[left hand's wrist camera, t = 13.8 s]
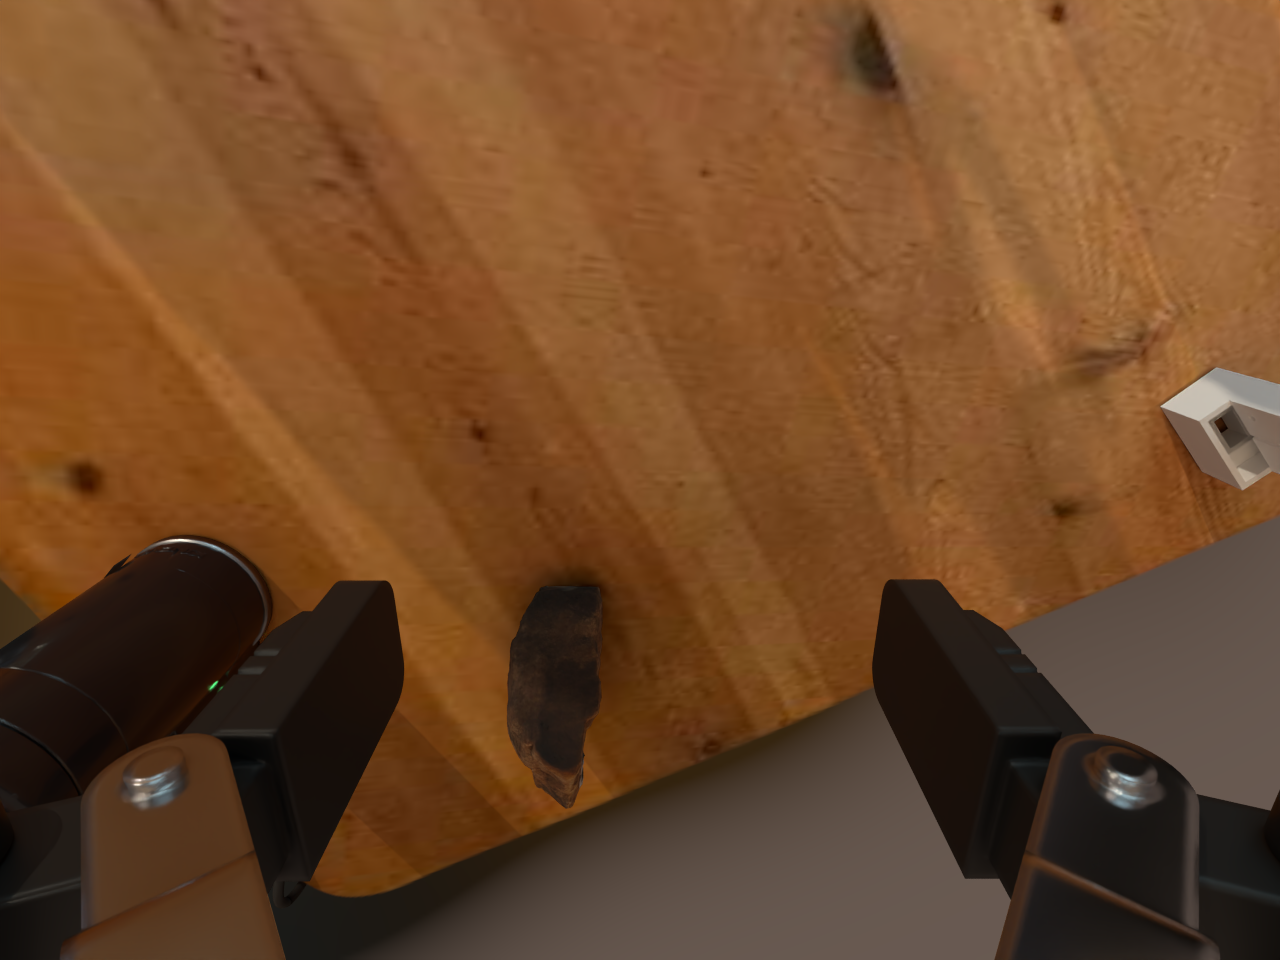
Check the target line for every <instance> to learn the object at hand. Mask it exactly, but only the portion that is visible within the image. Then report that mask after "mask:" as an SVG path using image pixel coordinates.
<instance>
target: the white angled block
mask: <svg viewBox="0 0 1280 960" xmlns="http://www.w3.org/2000/svg"><path fill="white" fill-rule="evenodd" d="M1160 407H1161V409H1162V410H1163V412H1164V413H1165V415H1166V416H1167V418H1168V419H1169V421H1170V423H1171V424H1172V426H1173V427H1174V429H1175V430H1176V432H1177V433H1178V435H1179V437H1180V438H1181V440H1182V441H1183V443H1184V444H1185V446H1186V447H1187V449H1188V451H1189V452H1190V454H1191V455H1192V457H1193V458H1194V460H1195V462H1196V463H1197V465H1198V466H1199V468H1200V469H1201V471H1202V472H1204V473H1206V474H1208V475H1210V476H1212V477H1215V478H1217V479H1219V480H1221V481H1223V482H1225V483H1228V484H1230V485H1232V486H1234V487H1236V488H1238V489H1241V490H1244V489H1245V488H1247V487H1248V486H1250V485H1252V484H1253V483H1255V482H1256V481H1258V480H1259V479H1261V478H1262V477H1264V476H1265V475H1267V474H1269V473H1270V472H1272V471H1273V472H1275V473H1278V474H1280V384H1276V383H1273V382H1269V381H1265V380H1262V379H1258V378H1254V377H1250V376H1247V375H1243V374H1239V373H1236V372H1232V371H1228V370H1224V369H1221V368H1217V367H1216V368H1215V369H1213V370H1212V371H1210V372H1209V373H1208V374H1206V375H1205V376H1203V377H1202V378H1200V379H1199V380H1198V381H1196V382H1195V383H1193V384H1192V385H1190V386H1189V387H1188V388H1186V389H1185V390H1183V391H1182V392H1180V393H1179V394H1178V395H1176V396H1175V397H1173V398H1172V399H1170V400H1169V401H1168V402H1166V403H1165V404H1163V405H1162V406H1160ZM1220 417H1221V418H1222V419H1223V421H1224V423H1225V424H1226V426H1227V428H1228V429H1227V430H1225V431H1224V432H1222V433H1220V431H1219V429H1218V428H1217V426H1216V425H1215V423H1214V422H1215V421H1216V420H1217V419H1219V418H1220Z"/></svg>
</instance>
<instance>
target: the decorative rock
mask: <svg viewBox="0 0 1280 960" xmlns="http://www.w3.org/2000/svg"><path fill="white" fill-rule="evenodd" d="M601 628H602V599H601V594H600V589H599V587H574V586H566V587H565V586H551V587H549V586H545V587H541V588H540V590H539V592H537V593H536V595H535V597H534V599H533V601H532V602H531V604H530V605H529V606H528V608H527V610H526V612H525V614H524V615H523V617H522V620H521V621H520V628H519V630H518V632H517V635H516V637H515V638H514V639H513V640H512V643H511V648H510V665H509V673H508V683H507V684H508V705H507V727H508V734H509V737H510V740H511V742H512V744H513V747H514V749H515V751H516V753H517V754H518V756H519V758H520V759H521V761H522V762H523V763H524V765H525V766H527V767H529V768H530V769H531V770H532V772H533V777H534V782H535V785H536V786H537V787H538V788H542V789H543V790H544V791H545V792H546V793H548V794H549V795H551V796H552V797H553V798H554V799H555V800H556V801H557V802H558V803H559V804H561V805H562V806H563V807H565V808H566V809H567V808H571V807H572V806H573V804H574V802H575V799H576V796H577V793H578V791H579V789H580V787H581V785H582V783H583V763H584V760H583V759H584V756H585V755H584V753H583V746H584V741H585V734H586V730H587V729H588V728H589V727H590V726H591V724H592V722H593V719H594V718H595V717H596V716H597V714H598V713H599V706H600V701H601V681H600V679H599V677H598V674H599V669H600V654H601V649H602V635H601Z"/></svg>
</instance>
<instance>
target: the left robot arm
mask: <svg viewBox="0 0 1280 960" xmlns="http://www.w3.org/2000/svg"><path fill="white" fill-rule="evenodd" d="M130 555H131V554H130ZM130 555H129V556H130ZM129 556H128V557H126V558H125V559H123V560H122V561H120V562H119V563H117V564H116V565H114V566H113V567H112V569H111V570H110V571H109V572H108V574H107V575H106V576H105V577H104V579H102V580H101V581H99V582H98V583H97V584H95V585H94V586H92V587H91V588H89V589H88V590H86V591H85V592H83V593H82V594H80V595H79V596H78V597H76V598H75V599H73V600H72V601H70V602H69V603H67V604H66V605H64V606H63V607H61V608H60V609H58V610H57V611H56V612H54V613H53V614H51V615H50V616H48V617H47V618H45V619H44V620H42V621H41V622H39V623H38V624H36V625H35V626H34V627H32V628H31V629H29V630H28V631H26V632H25V633H23V634H22V635H20V636H19V637H17V638H16V639H14V640H13V641H12V642H10V643H9V644H7V645H6V646H4V647H3V648H1V649H0V960H285V956H284V953H283V949H282V945H281V942H280V938H279V935H278V931H277V927H276V924H275V920H274V917H273V913H272V909H271V906H270V902H269V899H268V893H269V891H270V889H271V888H272V886H273V901H274V904H275V906H276V907H279V908H285V907H288V906H290V905H291V904H292V903H293V902H294V901H295V900H296V899H297V898H298V896H299V895H300V894H301V892H302V891H303V889H304V888H305V886H306V885H307V883H305V882H304V881H310V879H311V877H312V875H313V873H314V871H315V869H316V867H317V865H318V863H319V861H320V859H321V857H322V855H323V853H324V851H325V849H326V847H327V845H328V843H329V841H330V839H331V837H332V835H333V833H334V831H335V829H336V827H337V825H338V823H339V821H340V819H341V817H342V815H343V813H344V811H345V809H346V807H347V805H348V803H349V801H350V799H351V796H352V794H353V792H354V790H355V788H356V786H357V784H358V782H359V780H360V778H361V776H362V774H363V772H364V770H365V768H366V766H367V764H368V762H369V760H370V758H371V756H372V754H373V752H374V750H375V748H376V746H377V744H378V742H379V740H380V738H381V736H382V734H383V732H384V730H385V728H386V726H387V724H388V722H389V720H390V718H391V716H392V714H393V712H394V709H395V707H396V705H397V703H398V701H399V698H400V695H401V692H402V687H403V680H404V660H403V653H402V646H401V639H400V632H399V626H398V619H397V612H396V605H395V599H394V593H393V589H392V587H391V585H390V583H389V582H388V581H338V582H336V583H335V584H334V586H333V587H332V588H331V589H330V590H329V592H328V593H327V594H326V595H325V597H324V598H323V599H322V600H321V601H320V603H319V604H318V605H317V606H316V607H315V609H314V610H313V611H302V612H301V613H299V614H298V615H296V616H294V617H293V618H291V619H290V620H288V621H286V622H285V623H283V624H282V625H280V626H279V627H277V628H275V629H274V630H273V631H272V632H271V633H270V634H269V635H268V636H267V637H266V639H265V640H264V641H263V642H262V643H261V644H260V645H259V639H260V638H261V637H262V636H263V634H264V633H265V631H266V630H267V627H268V625H269V622H270V619H271V613H272V604H271V597H270V594H269V590H268V588H267V585H266V583H265V581H264V580H263V578H262V576H261V575H260V573H259V572H258V571H257V569H256V568H255V567H254V566H253V565H252V564H251V563H250V562H249V561H248V560H247V559H246V558H245V557H244V556H242V555H241V554H240V553H238V552H237V551H235V550H234V549H232V548H230V547H229V546H227V545H224V544H222V543H220V542H218V541H215V540H212V539H209V538H205V537H200V536H192V535H179V536H172V537H168V538H164V539H161V540H159V541H157V542H155V543H153V544H151V545H150V546H148V547H147V548H145V549H144V550H142V551H141V552H140V553H139V554H137V555H136V557H134V559H132V560H131V561H129V562H128V563H126V564H125V565H124V566H122V565H123V564H124V563H125V561H126V560H127V559H128V558H129ZM121 566H122V567H121ZM872 674H873V683H874V689H875V693H876V696H877V699H878V701H879V703H880V705H881V707H882V709H883V711H884V714H885V716H886V718H887V720H888V722H889V724H890V726H891V728H892V730H893V732H894V734H895V736H896V738H897V740H898V742H899V744H900V746H901V748H902V750H903V752H904V755H905V757H906V759H907V761H908V763H909V765H910V767H911V769H912V771H913V773H914V775H915V777H916V779H917V781H918V783H919V785H920V787H921V789H922V791H923V793H924V795H925V798H926V799H927V802H928V804H929V806H930V808H931V810H932V812H933V814H934V816H935V818H936V820H937V822H938V824H939V826H940V828H941V830H942V832H943V834H944V836H945V838H946V840H947V843H948V845H949V847H950V849H951V851H952V853H953V855H954V857H955V859H956V861H957V863H958V865H959V867H960V869H961V871H962V873H963V875H964V877H965V878H966V879H1000V881H1001V883H1002V884H1003V886H1004V888H1005V890H1006V892H1007V894H1008V895H1009V897H1010V899H1011V902H1010V906H1009V909H1008V913H1007V916H1006V920H1005V924H1004V927H1003V931H1002V935H1001V938H1000V942H999V945H998V949H997V953H996V956H995V960H1280V791H1279V793H1278V795H1277V798H1276V800H1275V802H1274V804H1273V807H1272V809H1271V811H1270V810H1265V809H1261V808H1256V807H1252V806H1247V805H1243V804H1238V803H1234V802H1229V801H1225V800H1221V799H1216V798H1211V797H1207V796H1203V795H1198V794H1196V793H1195V790H1194V789H1193V787H1192V786H1191V785H1190V783H1189V782H1188V781H1187V780H1186V778H1185V777H1184V776H1183V775H1182V774H1181V773H1180V772H1179V771H1177V770H1176V769H1175V768H1174V767H1173V766H1172V765H1170V764H1169V763H1167V762H1166V761H1165V760H1163V759H1162V758H1160V757H1158V756H1157V755H1155V754H1153V753H1152V752H1150V751H1148V750H1146V749H1144V748H1142V747H1140V746H1137V745H1135V744H1132V743H1130V742H1127V741H1124V740H1121V739H1118V738H1115V737H1110V736H1106V735H1100V734H1094V733H1093V732H1092V731H1091V730H1090V729H1089V727H1088V726H1087V725H1086V724H1085V723H1084V722H1083V720H1082V719H1081V718H1080V717H1079V716H1078V715H1077V714H1076V712H1075V711H1074V710H1073V709H1072V708H1071V707H1070V706H1069V704H1068V703H1067V702H1066V701H1065V700H1064V699H1063V698H1062V696H1061V695H1060V694H1059V693H1058V692H1057V691H1056V689H1055V688H1054V687H1053V686H1052V685H1051V684H1050V683H1049V681H1048V680H1047V679H1046V678H1045V677H1044V676H1043V675H1042V673H1037V668H1036V667H1035V665H1034V664H1033V663H1032V662H1031V661H1030V660H1029V659H1028V657H1027V656H1026V655H1025V654H1021V649H1020V648H1019V647H1018V646H1017V645H1016V644H1015V642H1014V641H1013V640H1012V639H1011V638H1010V637H1009V636H1008V634H1007V633H1006V632H1005V631H1004V630H1003V629H1002V628H1001V627H999V626H998V625H996V624H994V623H993V622H991V621H990V620H988V619H986V618H985V617H983V616H982V615H980V614H979V613H977V612H975V611H974V610H963V609H962V608H961V607H960V605H959V604H958V603H957V602H956V601H955V599H954V598H953V597H952V596H951V594H950V593H949V592H948V591H947V589H946V588H945V587H944V586H943V585H942V583H941V582H940V581H938V580H935V579H891V580H888V581H887V582H886V584H885V586H884V589H883V593H882V599H881V606H880V613H879V620H878V627H877V634H876V641H875V648H874V654H873V663H872ZM284 881H299V882H298V883H297V885H296V886H295V887H294V889H293V890H292V891H291V892H290V894H289V895H288V896H286V897H284ZM273 884H274V885H273Z"/></svg>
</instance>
